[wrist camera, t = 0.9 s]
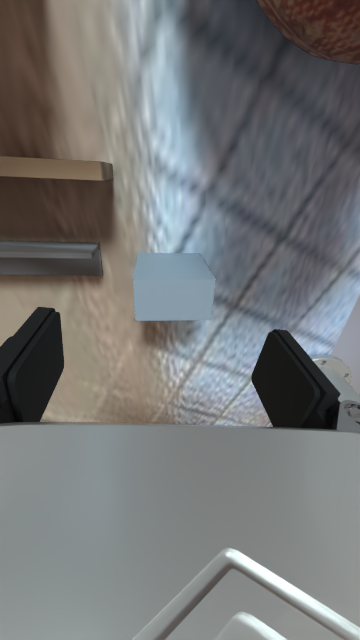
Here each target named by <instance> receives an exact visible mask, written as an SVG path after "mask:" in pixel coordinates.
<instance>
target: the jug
mask: <svg viewBox="0 0 360 640" xmlns="http://www.w3.org/2000/svg"><path fill="white" fill-rule="evenodd" d="M257 2H258V4H259V5H260V7H261V8H262V10H263V11H264V12H265V14H266V15H267V16H268V18H269V19H270V20H271V21H272V23H273V24H274V25H275V26H276V27H277V28H278V30H279V31H280V32H281V33H282V34H283V35H284V37H286V38H287V39H288V40H290V41H291V42H292V43H294V44H295V45H296V46H298V47H299V48H301V49H302V50H304V51H306V52H307V53H309V54H311V55H313V56H314V57H318V58H322V59H326V60H331V61H336V62H343V63H351V64H360V0H257Z"/></svg>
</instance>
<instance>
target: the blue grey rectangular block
mask: <svg viewBox="0 0 360 640" xmlns="http://www.w3.org/2000/svg"><path fill="white" fill-rule="evenodd" d="M215 283H216V279H215V277H214V276H213V274H212V272H211V271H210V269H209V267H208V265H207V264H206V262H205V260H204V259H203V257H202V255H201V254H188V253H138V254H137V260H136V265H135V271H134V276H133V290H134V308H135V321H170V320H211V316H212V308H213V299H214V291H215Z"/></svg>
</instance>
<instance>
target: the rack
mask: <svg viewBox="0 0 360 640" xmlns="http://www.w3.org/2000/svg"><path fill="white" fill-rule="evenodd" d="M0 176H11V177H33V178H55V179H78V180H100V181H103V180H109V179H113V169H112V164H110V163H105V162H100V161H81V160H62V159H43V158H24V157H5V156H0ZM0 275H103V270H102V261H101V253H100V244H99V243H87V242H38V241H0Z"/></svg>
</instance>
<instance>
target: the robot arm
mask: <svg viewBox="0 0 360 640" xmlns="http://www.w3.org/2000/svg"><path fill="white" fill-rule="evenodd" d="M63 368H64V356H63V344H62V332H61V320H60V313H59V312H55V309H54V308H46V307H38V308H37V309H36V310H35V311H34V312H33V313H32V315H31V316H30V317H29V318H28V319H27V320H26V322H25V323H24V324H23V325H22V326H21V327H20V329H19V330H18V331H17V332H16V333H15V334H14V336H12V337H9V338H8V339H7V340H6V341H5V342H4V343H3V345H2V346H1V347H0V640H360V395H359V394H358V393H357V392H356V391H355V390H354V388H353V387H352V386H351V385H350V381H351V372H350V369H349V367H348V366H347V365H346V364H345V363H344V362H343V361H342V360H340V359H339V358H337V357H335V356H331V355H314V356H308V354H307V353H306V352H305V351H304V350H303V348H302V347H301V346H300V345H299V344H298V343H297V341H296V340H295V339H294V338H293V337H292V335H291V334H290V333H289V332H288V331H287V330H277V329H274V330H273V331H272V332H270V333H269V334H268V336H267V338H266V341H265V343H264V346H263V348H262V351H261V353H260V356H259V358H258V361H257V363H256V366H255V368H254V371H253V373H252V383H253V385H254V387H255V389H256V391H257V393H258V395H259V398H260V400H261V402H262V404H263V406H264V408H265V410H266V412H267V414H268V417H269V419H270V421H271V423H272V425H273V427H255V426H223V425H186V424H145V423H97V422H40V420H41V418H42V415H43V413H44V411H45V409H46V407H47V404H48V402H49V400H50V398H51V396H52V393H53V391H54V389H55V387H56V385H57V382H58V380H59V378H60V376H61V374H62V371H63Z"/></svg>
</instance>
